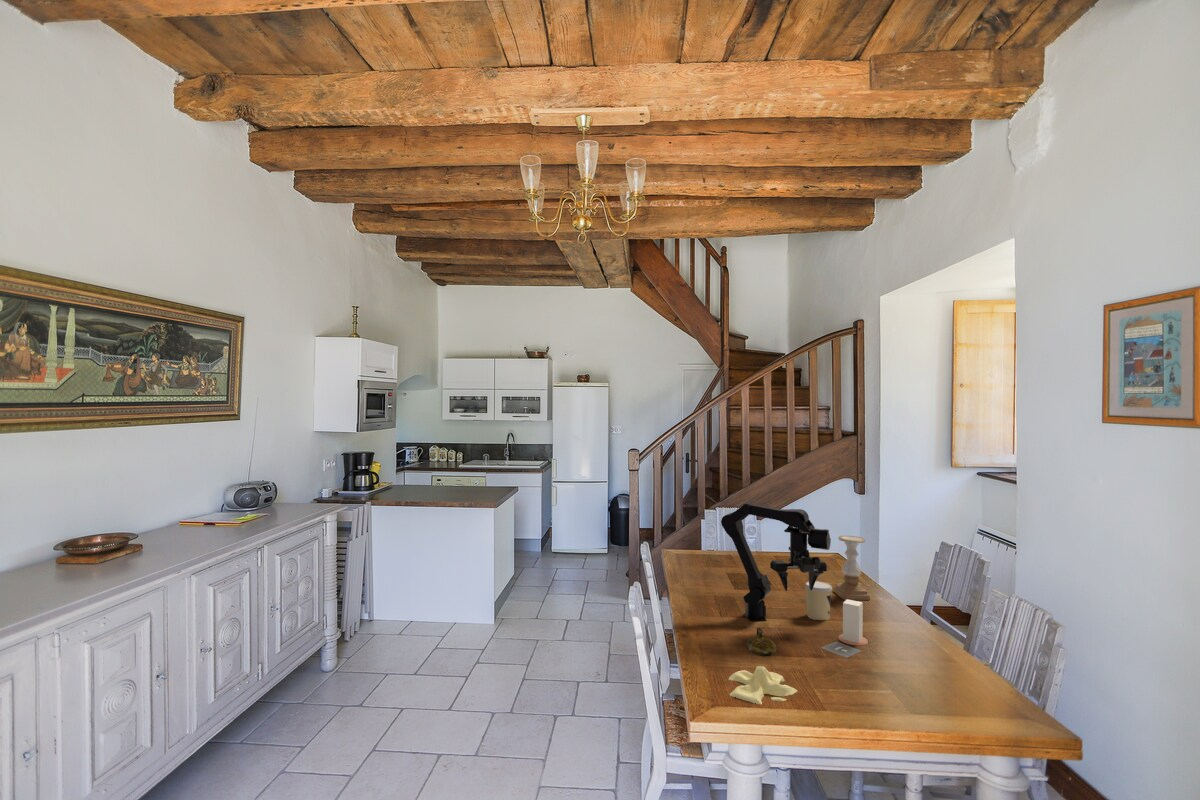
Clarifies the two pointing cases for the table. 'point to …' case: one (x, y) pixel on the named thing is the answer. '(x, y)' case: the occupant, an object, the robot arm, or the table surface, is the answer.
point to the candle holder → (851, 572)
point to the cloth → (760, 685)
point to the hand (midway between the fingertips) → (798, 590)
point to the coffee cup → (818, 601)
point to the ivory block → (853, 621)
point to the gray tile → (841, 649)
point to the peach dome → (862, 642)
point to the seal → (761, 644)
